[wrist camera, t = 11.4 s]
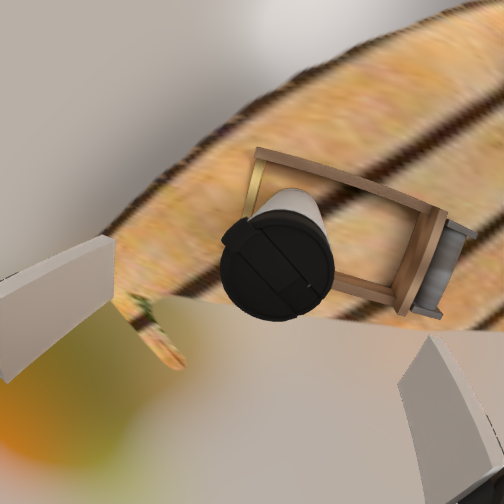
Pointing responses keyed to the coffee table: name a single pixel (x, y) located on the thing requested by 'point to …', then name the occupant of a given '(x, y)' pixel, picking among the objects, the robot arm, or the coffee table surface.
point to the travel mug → (278, 258)
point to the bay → (418, 251)
